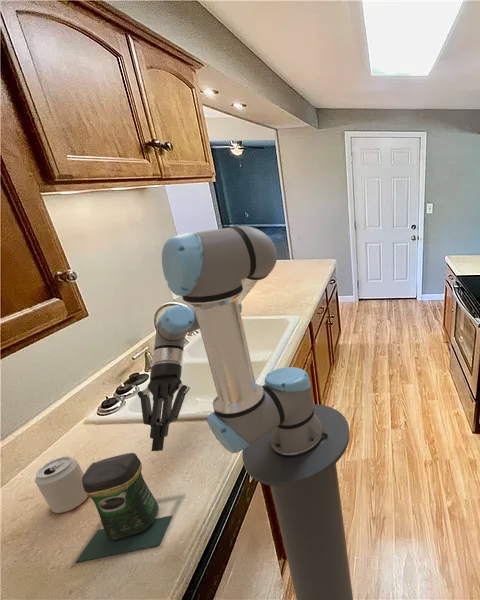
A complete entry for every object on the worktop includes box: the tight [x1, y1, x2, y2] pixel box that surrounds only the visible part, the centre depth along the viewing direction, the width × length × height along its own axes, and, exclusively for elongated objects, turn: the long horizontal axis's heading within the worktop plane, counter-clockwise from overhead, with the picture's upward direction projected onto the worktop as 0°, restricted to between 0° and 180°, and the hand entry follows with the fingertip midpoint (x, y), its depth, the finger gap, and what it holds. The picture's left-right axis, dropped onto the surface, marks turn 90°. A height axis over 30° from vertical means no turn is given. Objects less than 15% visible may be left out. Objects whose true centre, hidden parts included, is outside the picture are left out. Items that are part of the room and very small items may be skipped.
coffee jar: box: [82, 452, 160, 540], centre depth 75 cm, size 10×8×19 cm
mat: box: [75, 514, 174, 564], centre depth 77 cm, size 16×12×1 cm
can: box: [34, 455, 89, 514], centre depth 81 cm, size 8×8×12 cm
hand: (157, 450), depth 89 cm, fingers closed
